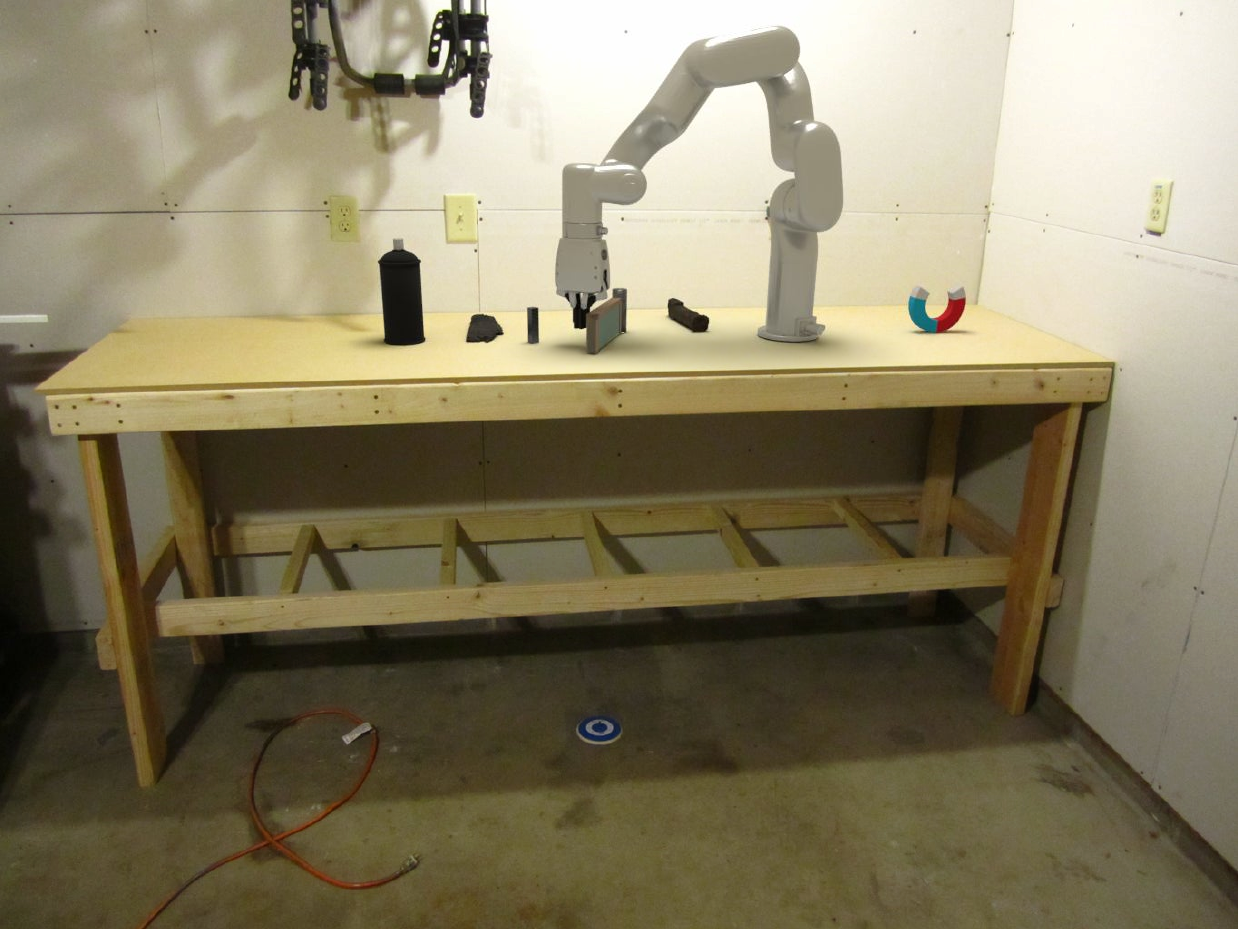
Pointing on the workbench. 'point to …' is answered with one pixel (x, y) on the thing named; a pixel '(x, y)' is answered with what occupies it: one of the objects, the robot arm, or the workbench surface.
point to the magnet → (943, 321)
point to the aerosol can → (401, 296)
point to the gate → (603, 324)
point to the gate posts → (534, 318)
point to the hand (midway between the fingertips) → (581, 327)
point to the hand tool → (687, 316)
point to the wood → (483, 329)
